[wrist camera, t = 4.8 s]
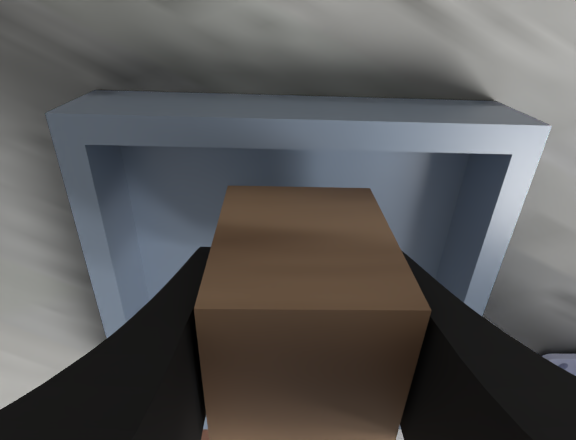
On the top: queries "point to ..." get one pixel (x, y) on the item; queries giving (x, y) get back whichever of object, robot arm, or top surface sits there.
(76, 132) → the tray
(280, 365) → the tan block
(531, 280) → the top surface
